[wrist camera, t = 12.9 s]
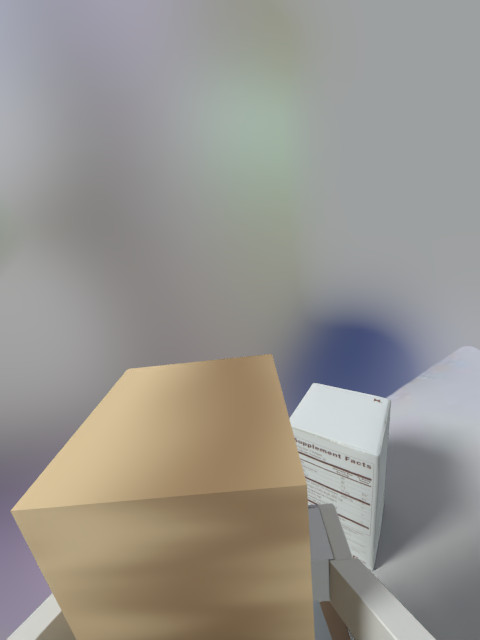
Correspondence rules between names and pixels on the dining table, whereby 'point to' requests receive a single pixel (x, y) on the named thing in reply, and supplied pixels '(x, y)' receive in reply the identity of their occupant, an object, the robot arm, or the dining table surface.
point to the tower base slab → (334, 622)
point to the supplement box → (346, 460)
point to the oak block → (178, 510)
